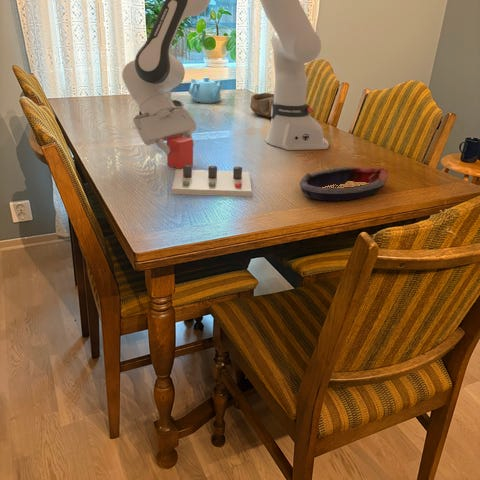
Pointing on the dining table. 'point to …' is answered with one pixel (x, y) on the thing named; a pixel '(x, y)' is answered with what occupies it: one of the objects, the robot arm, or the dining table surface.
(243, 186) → the breaker board
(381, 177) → the dish
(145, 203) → the dining table surface
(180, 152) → the red rectangular block
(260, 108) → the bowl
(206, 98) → the teapot
